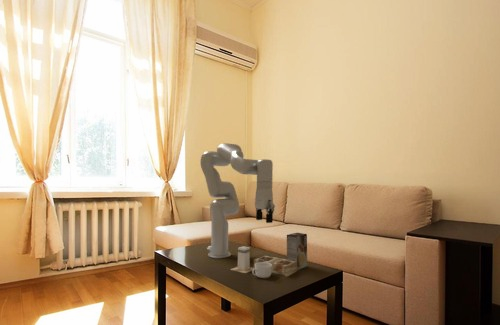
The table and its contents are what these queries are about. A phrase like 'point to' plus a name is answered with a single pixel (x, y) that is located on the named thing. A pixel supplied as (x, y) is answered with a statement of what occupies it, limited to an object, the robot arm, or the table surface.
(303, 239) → the coffee box
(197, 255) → the table surface
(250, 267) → the mat
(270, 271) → the teacup
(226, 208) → the robot arm
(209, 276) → the table surface
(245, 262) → the plug
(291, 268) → the socket board
